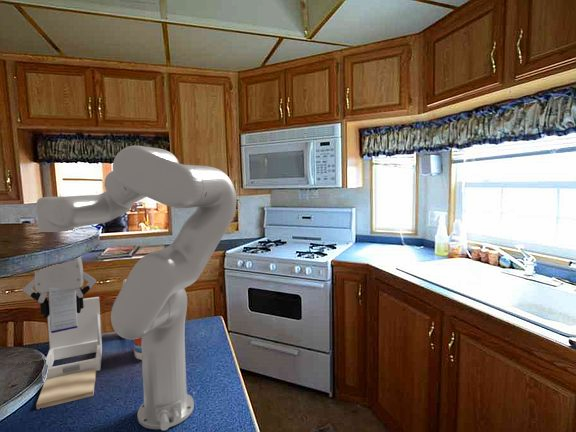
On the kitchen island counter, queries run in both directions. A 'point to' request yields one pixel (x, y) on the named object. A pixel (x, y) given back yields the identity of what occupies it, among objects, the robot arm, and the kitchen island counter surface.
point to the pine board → (67, 388)
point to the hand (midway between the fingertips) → (63, 313)
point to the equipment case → (77, 342)
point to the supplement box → (62, 309)
